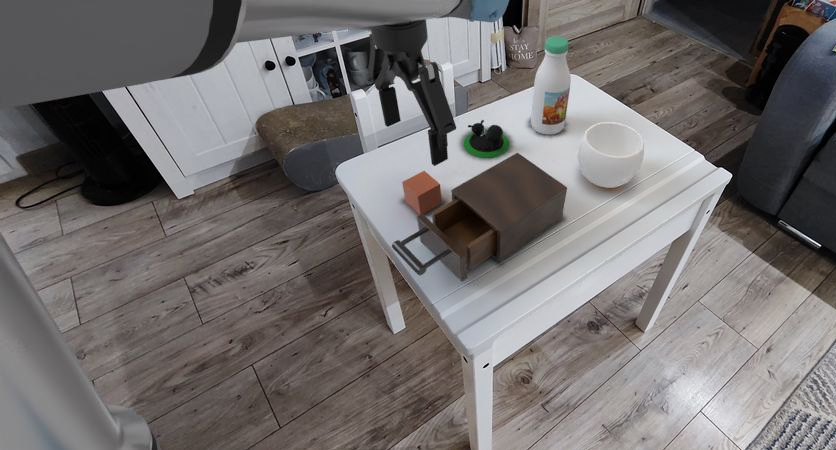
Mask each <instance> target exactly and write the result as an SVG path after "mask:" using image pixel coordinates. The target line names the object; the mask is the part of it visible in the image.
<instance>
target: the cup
mask: <svg viewBox="0 0 836 450" xmlns="http://www.w3.org/2000/svg"><path fill="white" fill-rule="evenodd" d="M644 156H645V140H644V139H643V137H642V135H641V133H640V132H639V131H637V130H636V129H634V128H633V127H632V126H629V125H626V124H624V123H621V122H616V121H601V122H598V123H595V124H592V125H590V126H589V127H588V128H587V129H586V130H585V131H584V133H583V135H582V137H581V139H580V142H579V147H578V151H577V160H578V161H577V162H578V166H579V169H580V172H581V174H582V175H583V177H585V178H586V180H587V181H588V182H589V183H591V184H593V185H595V186H597V187H601V188H606V189H608V188H609V189H611V188H618V187H620V186H623V185H625V184H627V183H629V182H630V181H631V180H632V179H633V178H634V176H636V174H637V173H638V171H639V170H640V169H641V166H642V163H643V160H644Z"/></svg>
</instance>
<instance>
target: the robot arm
mask: <svg viewBox="0 0 836 450" xmlns="http://www.w3.org/2000/svg"><path fill="white" fill-rule="evenodd" d="M509 2H510V0H0V109H7V108H14V107H19V106H26V105H31V104H37V103H44V102H49V101H54V100H60V99H61V100H62V99H66V98H71V97H76V96H82V95H88V94H93V93H99V92H105V91H111V90H115V89H122V88H127V87H134V86H139V85H143V84H149V83H153V82H158V81H159V82H160V81H163V80H164V81H165V80H169V79H170V80H171V79H175V78H182V77H187V76H193V75H196V74H201V73H203V72H206V71H209V70H212V69H213V68H215V67H216V66H218V65H219V64H222V62H223V61H224V60H225V59H226V58H227V57H228V56H229V55H230V53H231V52H232V51H233V49H234V47H235V46H236V45H237V44H240V43H247V42H255V41H264V40H272V39H279V38H287V37H296V36H303V35H312V34H318V33H319V34H320V33H321V34H322V33H328V32H336V31H344V30H352V29H359V28H360V29H361V28H367V27H370V28H369V29H370V34H369V35H368V36H369V44H370V51H369V61H368V71H367V72H368V73H367V77H368V78H367V79H368V81H370V83H373V82H374V87H375V89H376V90H377V91H378V96H379V102H380V107H381V111H382V116H383V121H384V126H386V127H387V128H388V127H390V126H394V125H395V124H398V123H400V122H401V121H402V119H401V115H400V108H399V104H398V103H399V102H398V97H397V91H396V87H394V86H393V85H394V84H396V82H395V79H396V78H397V77H398V78H399V79H401V80H402V82H404V84H405V86H406V89H407V91H408V92H412V93H413V95H414V98H415V100H416V102H417V104H418V106H419V108H420V110H421V113H422V114H423V116H424V118H425V120H426V122H427V124H428V127H429V129H428V130H427V135H428V143H429V144H428V146H429V152H430V161H431V162H430V163H431V165H432V166H433V167H436V166H437V165H440V164H442V163H443V162H445V161H448V160H449V154H448V145H449V143H448V134H449V133H451V132H453V131H455V130H457V125H456V122H455V119H454V116H453V113H452V110H451V107H450V105H449V102H448V99H447V96H446V93H445V90H444V87H443V84H442V81H441V77H440V71H439V66H438V65H439V64H438V63H437V62H436V61H432V62H429V63H428V62H426V61H425V59H424V56H423V52H422V50H423V48H424V46H425V45H426V43H427V41H428V28H427V27H428V25H427V20H432V19H433V20H434V19H444V18H445V19H446V18H455V19H463V20H467V21H469V22H472V23H473V22H482V23H496V22H498V21H499V20H500V19H501V18H502V17H503V16H504V14H505V12H506V11H507V7H508V6H509ZM417 80H418V81H417ZM414 81H416V82H414ZM0 450H163V449H162V448H161V446H160V443H159V442H158V440H157V438H156V437H155V434H154V433H153V431H152V430H151V428H150V426H149V424H148V423H147V421H146V419H145V418H144V417H143V416H142V415H141V414H140V413H139V412H137V411H136V410H134V409H132V408H129V407H126V406H122V405H117V404H109V403H108V404H106V403H105V401H104V399H103V398H102V396H101V394H100V393H99V391H98V389H97V388H96V386H95V385H94V383H93V381H92V380H91V378H90V376H89V375H88V373H87V371H86V370H85V368H84V367H83V365H82V362H80V360H79V359H78V356H76V354H75V352H74V350H73V348H72V346H70V343H69V342H68V340H67V339H66V337H65V335H64V334H63V331H61V329H60V327H59V326H58V323H57V322H56V320H55V319H54V317H53V316H52V314H51V311H49V309H48V308H47V306H46V304H45V303H44V300H42V297H41V296H40V294H39V293H38V291H37V289H36V287H35V286H34V284H33V283H32V282H31V280H30V277H28V275H27V274H26V272H25V270H24V268H23V267H22V265H21V263H20V261H19V259H18V258H17V257H16V255H15V253H14V252H13V250H12V249H11V247H10V244H8V242H7V240H6V239H5V236H4V235H3V234H2V232H1V231H0Z"/></svg>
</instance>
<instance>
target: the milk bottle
mask: <svg viewBox="0 0 836 450" xmlns="http://www.w3.org/2000/svg"><path fill="white" fill-rule="evenodd" d="M569 44H570V43H569V40H568V39H567V38H565V37H564V36H563V37H562V36H558V35H557V36H556V35H555V36H554V35H553V36H550V37H547V39H545V44H544V53H545V54H544V57H543V60H542V62H541V63H540V64H539V67H538V68H537V71H536V72H535V78H534V83H533V94H532V104H531V114H530V115H531V117H530V125H531V127H532V129H533V130H534V131H535V132H537V133H539V134H542V135H555V134H559V133H560V132H562V130H563V129H564V128H565V124H566V119H567V111H568V105H569V99H570V90H571V81H572V80H571V78H572V77H571V72H570V68H569V65H568V62H567V54H568V51H569V46H570V45H569Z"/></svg>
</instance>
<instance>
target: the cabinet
mask: <svg viewBox="0 0 836 450" xmlns="http://www.w3.org/2000/svg"><path fill="white" fill-rule="evenodd" d="M567 192H568V186H566V185H564V184H563V183H561V182H560V181H559V180H558V179H556V178H555V177H553V176H552V175H551V174H549V173H547V172H546V171H545V170H543V169H542V168H540V167H539V166H538V165H536V164H534V163H533V162H532V161H530V160H529V159H528V158H526V157H525V156H523V155H522V154H521V153H519V152H516V153H514V154H512V155H510V156H508V157H507V158H505V159H503V160H502V161H500V162H498V163H496V164H494V165H493V166H491V167H488V169H486V170H484V171H482V172H480V173H478V174H477V175H475V176H473V177H472V178H470V179H468V180H466V181H465V182H463V183H461V184H459V185H458V186H456V187H454V188H452V189H451V201H453V200H455V199H456V198H458V199H459V200H460V201H462V202H463V203H464V204H465V205H466V206H467V207H469V208H470V209H471V210H472V211H473V212H474V213H476V214H477V215H478V216H479V217H480V218H482V219H483V220H484V221H485V222H486V223H487V224H489V225H490V226H491V227H492V228H493V229H494V230H496V231H497V253H495V254H494V255H492V256H491V257H492V258H493V259H494V260H496V261H497V262H498V263H499V264H500V263H502V262H503V261H504V260H506V259H507V258H509V257H510V256H512V255H513V254H515V253H516V252H517V251H519V250H520V249H521V248H523V247H524V246H526V245H528V244H529V243H530V242H531V241H533V240H534V239H536V238H537V237H539V236H540V235H541V234H543V233H544V232H546V231H547V230H549V229H550V228H551V227H553V226H554V225H555V224H557V223H558V222H561V221H562V220H563V215H564V209H565V203H566V197H567Z"/></svg>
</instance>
